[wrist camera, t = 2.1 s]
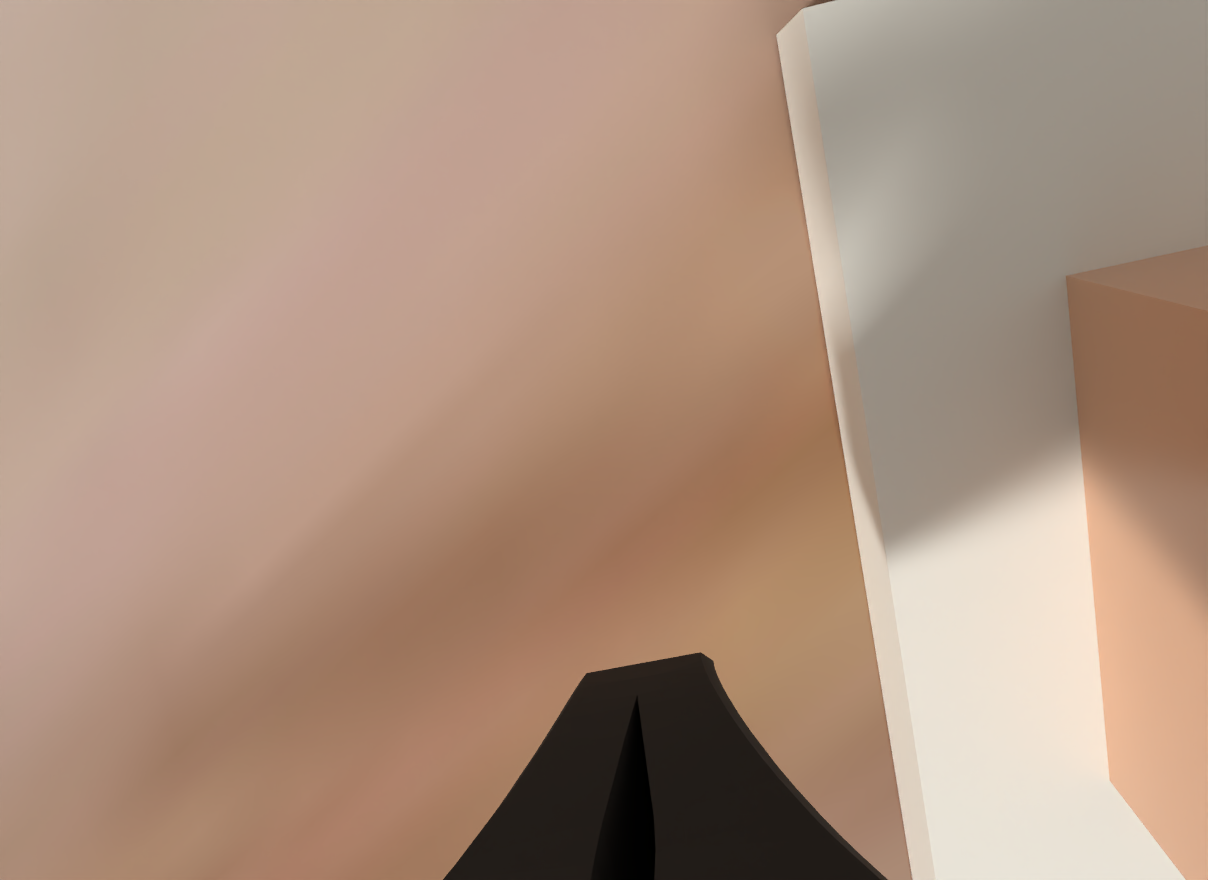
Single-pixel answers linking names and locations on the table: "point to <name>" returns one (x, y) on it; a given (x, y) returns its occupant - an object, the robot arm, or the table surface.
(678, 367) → the table surface
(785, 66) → the board
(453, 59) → the table surface
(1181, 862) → the brick
